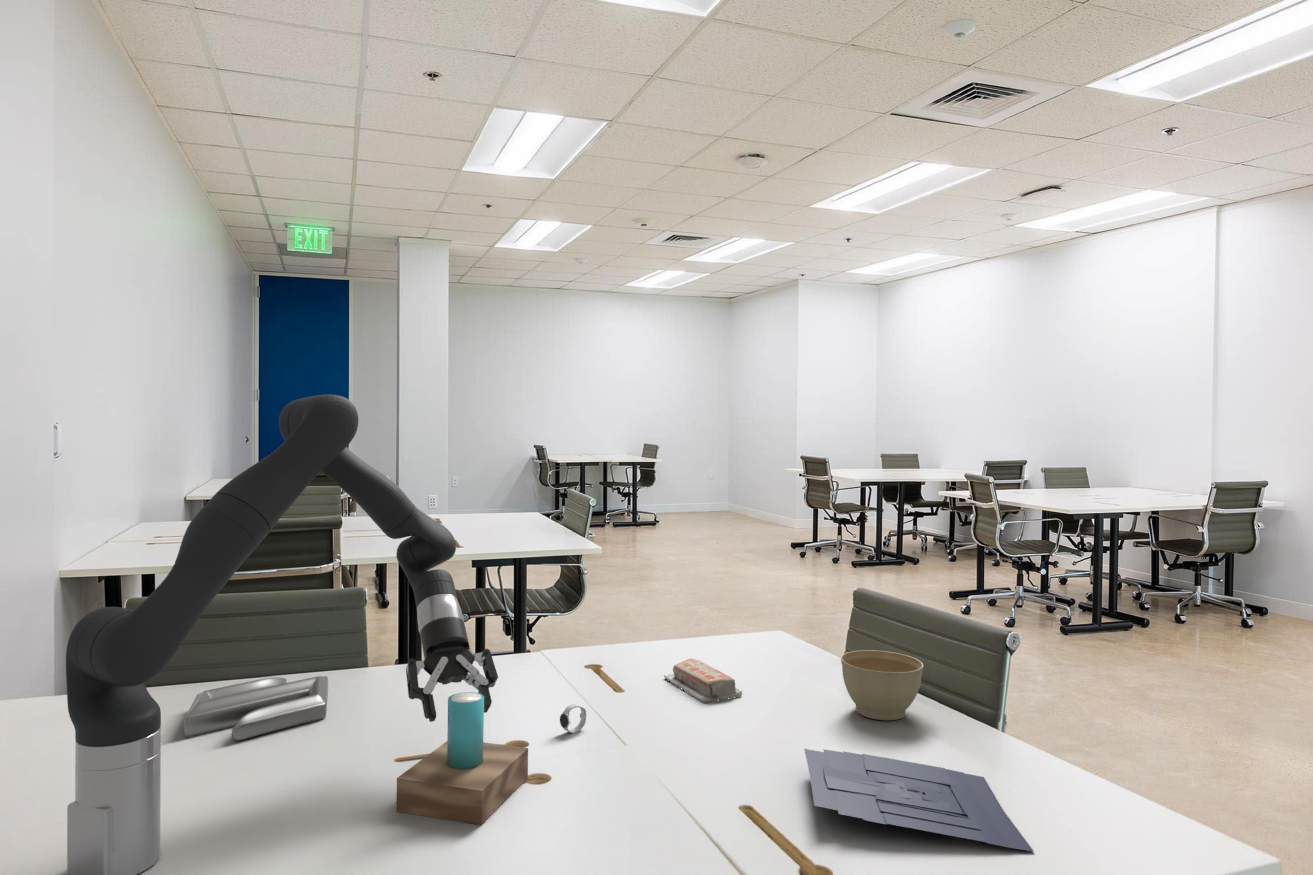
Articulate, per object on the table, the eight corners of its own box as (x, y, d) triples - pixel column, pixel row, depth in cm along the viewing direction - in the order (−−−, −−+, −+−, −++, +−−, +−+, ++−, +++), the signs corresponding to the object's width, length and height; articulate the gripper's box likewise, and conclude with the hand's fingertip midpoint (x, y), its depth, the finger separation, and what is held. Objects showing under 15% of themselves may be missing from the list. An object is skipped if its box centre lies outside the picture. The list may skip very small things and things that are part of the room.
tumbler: (472, 770, 122) (473, 704, 122) (440, 766, 124) (441, 701, 124) (489, 757, 128) (490, 693, 128) (458, 752, 129) (459, 690, 129)
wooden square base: (481, 825, 116) (482, 790, 116) (396, 811, 120) (396, 778, 120) (527, 778, 132) (528, 748, 132) (450, 767, 135) (451, 737, 135)
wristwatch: (558, 732, 151) (559, 706, 151) (579, 726, 155) (579, 700, 155) (568, 737, 149) (568, 710, 149) (589, 730, 153) (589, 704, 153)
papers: (801, 759, 138) (804, 739, 138) (980, 792, 135) (984, 770, 135) (812, 830, 114) (816, 805, 114) (1032, 872, 111) (1035, 846, 111)
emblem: (248, 662, 175) (364, 673, 169) (248, 687, 175) (364, 698, 169) (141, 707, 148) (276, 720, 142) (141, 736, 148) (275, 750, 142)
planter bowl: (939, 722, 160) (940, 667, 160) (872, 732, 154) (873, 675, 154) (888, 696, 175) (889, 646, 175) (824, 704, 169) (825, 653, 169)
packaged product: (744, 676, 173) (704, 682, 168) (743, 698, 173) (704, 705, 168) (701, 654, 189) (663, 659, 184) (700, 675, 189) (663, 680, 184)
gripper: (403, 619, 133) (418, 711, 123) (487, 610, 140) (508, 696, 130) (396, 643, 137) (410, 733, 128) (477, 633, 144) (497, 718, 135)
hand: (460, 714), depth 129 cm, fingers open, 8 cm apart
